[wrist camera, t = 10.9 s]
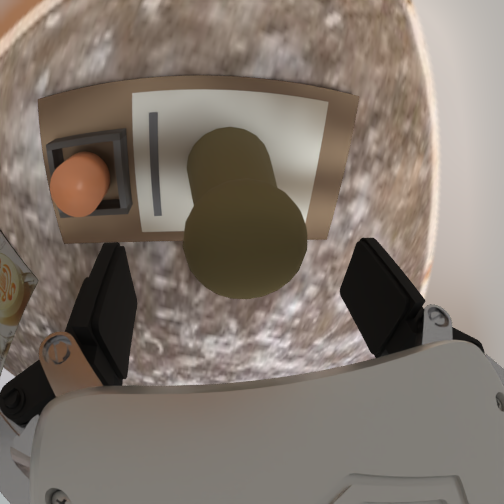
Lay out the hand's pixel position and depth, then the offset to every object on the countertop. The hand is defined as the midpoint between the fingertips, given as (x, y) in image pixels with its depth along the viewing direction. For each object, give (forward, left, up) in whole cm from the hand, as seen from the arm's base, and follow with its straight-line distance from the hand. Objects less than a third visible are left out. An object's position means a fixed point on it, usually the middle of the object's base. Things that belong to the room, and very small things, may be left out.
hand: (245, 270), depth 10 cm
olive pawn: (0, 0, -11) cm, 11 cm away
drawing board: (+1, +3, -12) cm, 12 cm away
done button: (+1, +10, -9) cm, 14 cm away
